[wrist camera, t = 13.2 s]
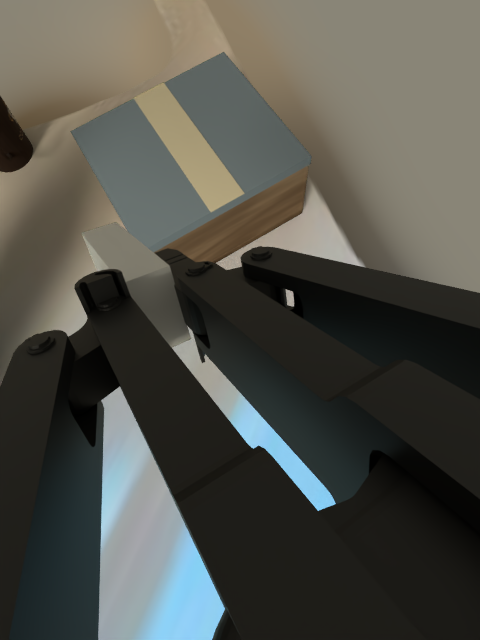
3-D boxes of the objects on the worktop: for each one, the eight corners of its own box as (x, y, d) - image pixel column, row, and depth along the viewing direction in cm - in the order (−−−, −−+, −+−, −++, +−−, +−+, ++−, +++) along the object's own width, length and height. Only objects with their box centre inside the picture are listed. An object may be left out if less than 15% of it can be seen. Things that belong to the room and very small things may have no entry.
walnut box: (301, 213, 48) (308, 165, 39) (168, 289, 46) (145, 257, 38) (232, 123, 53) (225, 64, 45) (110, 189, 51) (78, 140, 43)
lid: (310, 164, 39) (311, 155, 38) (143, 258, 38) (139, 252, 36) (224, 61, 45) (223, 50, 43) (75, 139, 43) (70, 130, 42)
